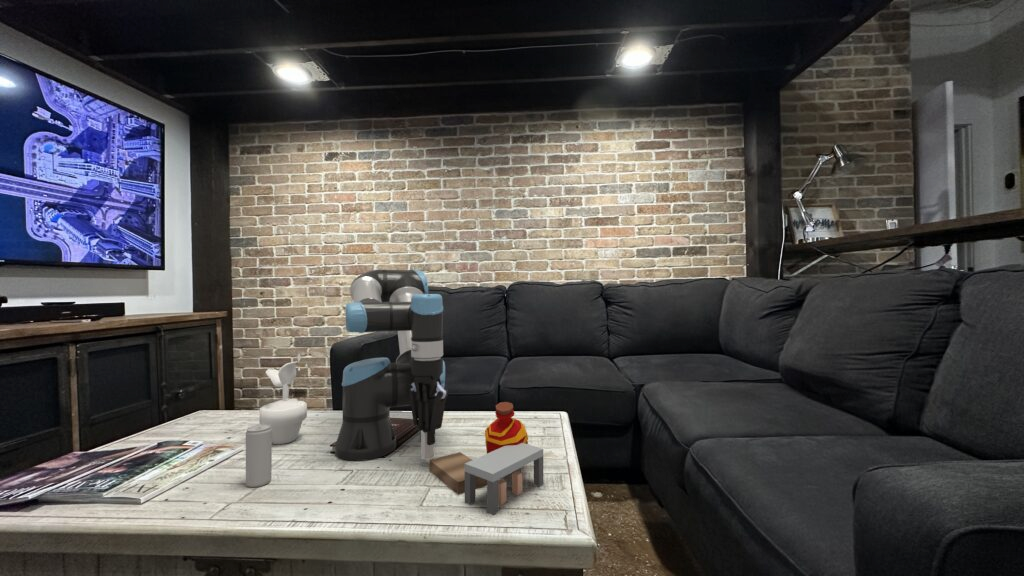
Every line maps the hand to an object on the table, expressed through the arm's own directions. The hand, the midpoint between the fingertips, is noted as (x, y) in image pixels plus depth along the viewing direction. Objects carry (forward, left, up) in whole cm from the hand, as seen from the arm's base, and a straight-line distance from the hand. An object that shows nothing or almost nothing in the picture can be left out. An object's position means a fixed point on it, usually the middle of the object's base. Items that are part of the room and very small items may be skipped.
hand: (427, 457), depth 99 cm
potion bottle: (+16, +11, -1) cm, 19 cm away
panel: (+11, 0, -2) cm, 11 cm away
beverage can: (-21, -29, -2) cm, 36 cm away
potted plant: (-45, -15, -2) cm, 47 cm away
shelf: (+24, +1, -2) cm, 24 cm away
